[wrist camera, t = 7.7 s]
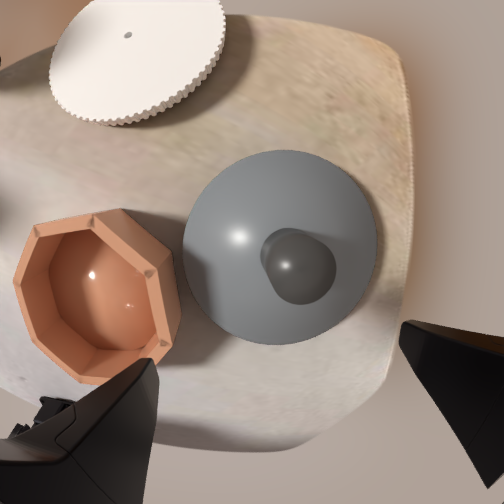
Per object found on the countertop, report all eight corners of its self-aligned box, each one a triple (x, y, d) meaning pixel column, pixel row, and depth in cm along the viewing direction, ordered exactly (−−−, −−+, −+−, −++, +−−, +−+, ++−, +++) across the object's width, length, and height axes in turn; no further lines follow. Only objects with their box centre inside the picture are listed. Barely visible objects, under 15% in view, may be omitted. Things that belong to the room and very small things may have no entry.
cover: (368, 322, 21) (398, 350, 16) (202, 349, 20) (197, 390, 15) (366, 150, 18) (404, 141, 13) (172, 163, 17) (154, 154, 12)
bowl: (189, 353, 21) (183, 387, 17) (69, 352, 20) (48, 378, 16) (166, 201, 18) (148, 205, 14) (36, 223, 17) (3, 232, 13)
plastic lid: (55, 143, 16) (38, 139, 14) (79, 12, 13) (69, 1, 11) (225, 118, 18) (225, 108, 15) (226, -15, 15) (227, -32, 12)
